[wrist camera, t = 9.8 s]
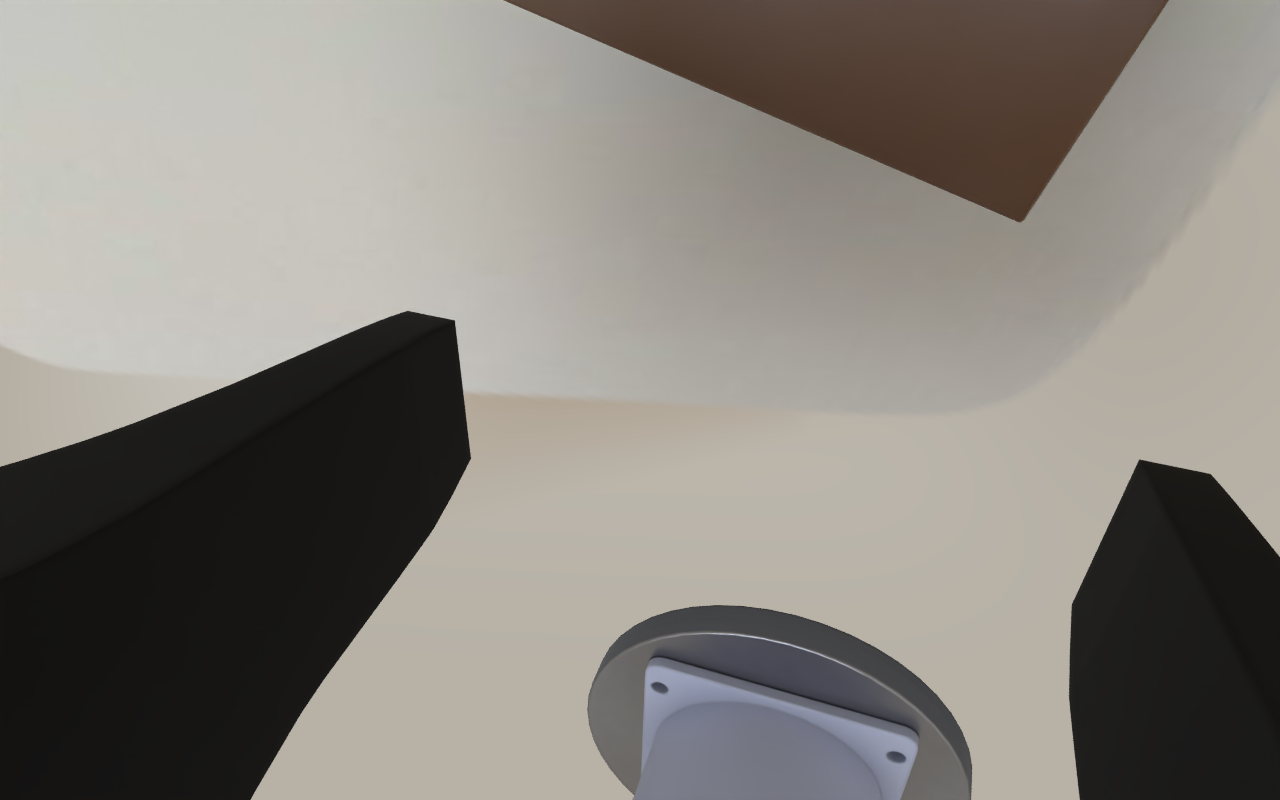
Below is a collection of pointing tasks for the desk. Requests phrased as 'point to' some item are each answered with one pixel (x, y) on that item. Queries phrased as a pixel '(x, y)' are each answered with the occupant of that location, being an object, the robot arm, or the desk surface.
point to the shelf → (897, 74)
